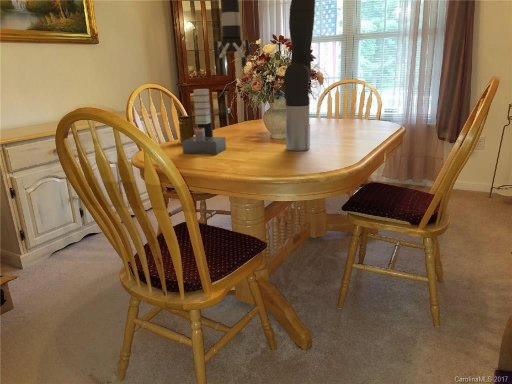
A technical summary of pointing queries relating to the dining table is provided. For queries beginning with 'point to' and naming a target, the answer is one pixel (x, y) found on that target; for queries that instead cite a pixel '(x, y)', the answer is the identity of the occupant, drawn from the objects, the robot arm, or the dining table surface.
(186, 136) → the condiment
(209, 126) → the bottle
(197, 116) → the column
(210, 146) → the stand base
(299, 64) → the robot arm
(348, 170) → the dining table surface
